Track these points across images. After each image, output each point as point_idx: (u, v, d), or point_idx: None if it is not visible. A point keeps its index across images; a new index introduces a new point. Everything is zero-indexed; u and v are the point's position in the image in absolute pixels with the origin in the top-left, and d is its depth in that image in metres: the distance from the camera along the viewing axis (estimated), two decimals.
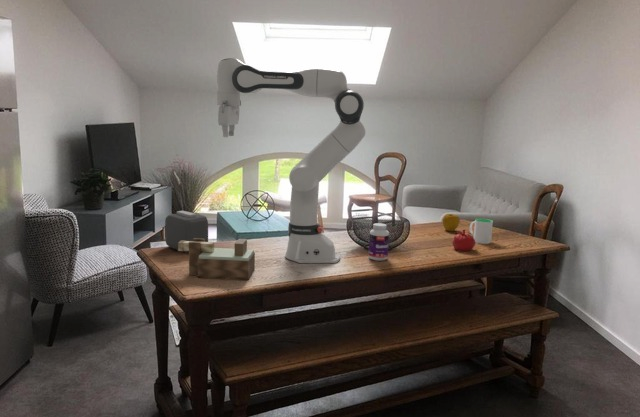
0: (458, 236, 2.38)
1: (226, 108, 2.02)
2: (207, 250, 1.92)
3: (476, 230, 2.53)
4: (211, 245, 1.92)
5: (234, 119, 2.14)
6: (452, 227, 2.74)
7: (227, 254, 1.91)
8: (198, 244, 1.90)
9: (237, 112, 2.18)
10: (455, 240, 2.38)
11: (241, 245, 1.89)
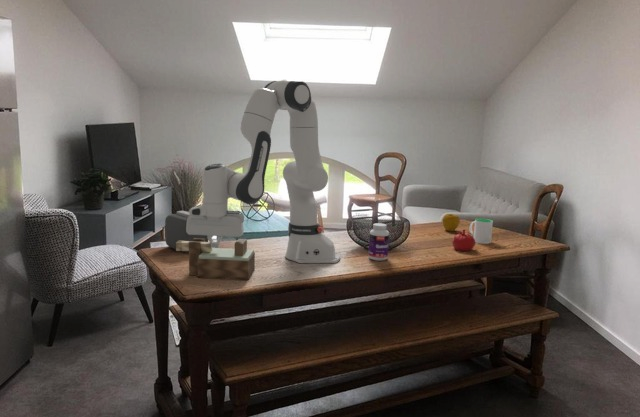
0: (458, 236, 2.38)
1: None
2: (205, 250, 1.92)
3: (476, 230, 2.53)
4: (209, 245, 1.92)
5: None
6: (452, 227, 2.74)
7: (227, 254, 1.91)
8: (198, 244, 1.90)
9: None
10: (455, 240, 2.38)
11: (241, 245, 1.89)
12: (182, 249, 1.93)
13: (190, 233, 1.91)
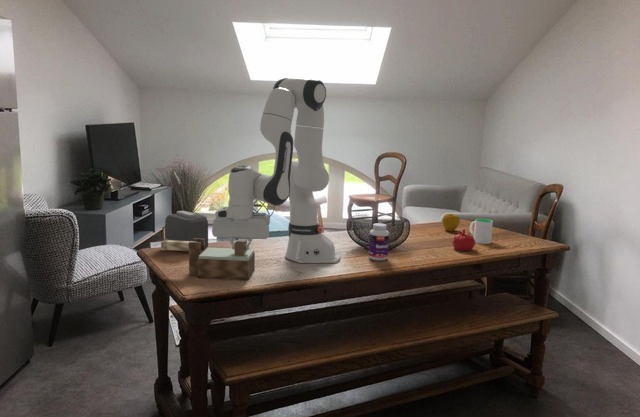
0: (458, 236, 2.38)
1: None
2: None
3: (476, 230, 2.53)
4: None
5: None
6: (452, 227, 2.74)
7: (227, 254, 1.91)
8: (198, 244, 1.90)
9: None
10: (455, 240, 2.38)
11: (241, 245, 1.89)
12: (167, 248, 1.93)
13: (216, 235, 1.91)
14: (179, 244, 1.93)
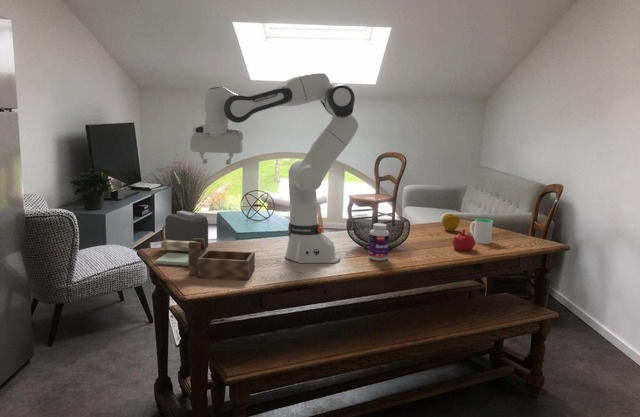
0: (458, 236, 2.38)
1: None
2: None
3: (476, 230, 2.53)
4: None
5: None
6: (452, 227, 2.74)
7: (182, 260, 2.05)
8: (198, 244, 1.90)
9: None
10: (455, 240, 2.38)
11: None
12: (167, 248, 1.93)
13: (194, 150, 2.11)
14: (179, 244, 1.93)
